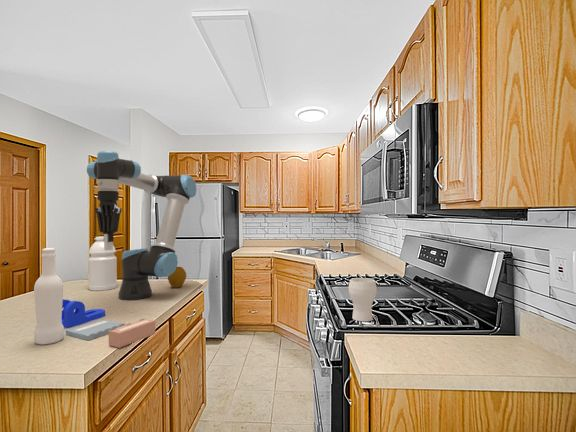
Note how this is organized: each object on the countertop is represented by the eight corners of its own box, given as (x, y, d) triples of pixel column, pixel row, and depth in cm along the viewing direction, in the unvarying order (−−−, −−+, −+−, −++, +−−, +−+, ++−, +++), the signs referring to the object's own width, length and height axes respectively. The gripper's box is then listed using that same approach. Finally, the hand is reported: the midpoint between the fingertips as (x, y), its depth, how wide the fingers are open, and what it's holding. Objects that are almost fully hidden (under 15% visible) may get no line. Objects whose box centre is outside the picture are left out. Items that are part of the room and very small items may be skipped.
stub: (144, 331, 125) (144, 318, 125) (155, 333, 123) (155, 320, 123) (108, 345, 112) (108, 330, 112) (119, 347, 110) (119, 332, 110)
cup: (345, 315, 145) (345, 277, 145) (371, 314, 146) (371, 277, 146) (352, 323, 134) (352, 283, 134) (380, 322, 135) (380, 282, 135)
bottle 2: (121, 288, 196) (121, 236, 195) (94, 292, 185) (93, 238, 185) (110, 284, 205) (110, 235, 204) (84, 288, 194) (83, 236, 194)
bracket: (67, 328, 129) (67, 303, 129) (52, 326, 132) (51, 301, 132) (109, 315, 146) (109, 293, 145) (94, 313, 149) (94, 291, 148)
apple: (188, 285, 203) (187, 264, 203) (183, 289, 193) (183, 267, 193) (170, 285, 202) (170, 264, 202) (165, 289, 193) (165, 267, 192)
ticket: (103, 323, 135) (103, 318, 135) (125, 328, 129) (125, 323, 129) (65, 334, 122) (65, 330, 122) (88, 340, 117) (88, 335, 117)
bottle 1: (41, 347, 111) (40, 250, 111) (29, 342, 115) (28, 248, 115) (69, 339, 118) (68, 247, 117) (56, 334, 122) (55, 246, 122)
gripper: (88, 190, 142) (89, 250, 143) (110, 189, 136) (111, 252, 137) (105, 191, 149) (106, 248, 149) (127, 190, 143) (128, 250, 144)
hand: (108, 250), depth 143 cm, fingers closed
